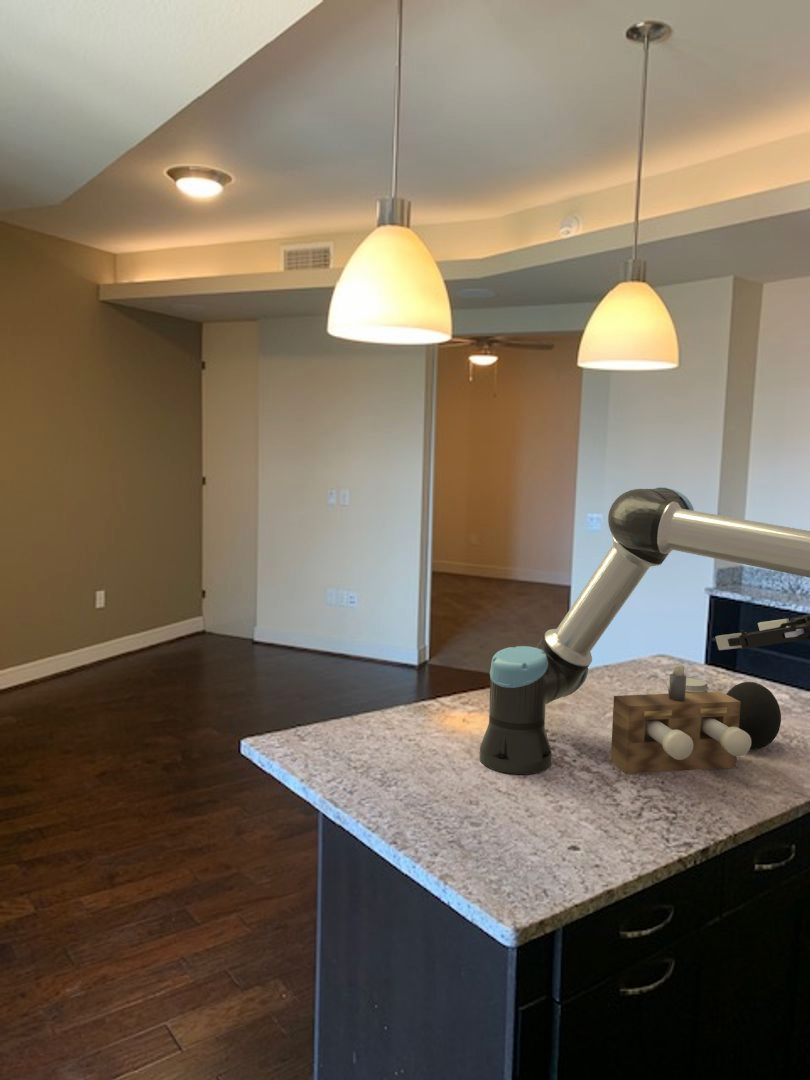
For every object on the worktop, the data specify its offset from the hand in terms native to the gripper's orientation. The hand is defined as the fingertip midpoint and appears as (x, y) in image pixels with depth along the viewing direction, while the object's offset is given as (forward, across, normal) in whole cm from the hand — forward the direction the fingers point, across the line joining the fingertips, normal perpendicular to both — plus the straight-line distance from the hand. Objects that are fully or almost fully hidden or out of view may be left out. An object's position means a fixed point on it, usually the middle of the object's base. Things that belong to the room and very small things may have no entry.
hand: (739, 636), depth 155 cm
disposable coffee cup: (+32, +13, -22) cm, 41 cm away
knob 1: (+14, -15, -18) cm, 27 cm away
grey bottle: (+14, -6, -11) cm, 19 cm away
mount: (+19, -8, -24) cm, 31 cm away
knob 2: (+10, -3, -21) cm, 23 cm away
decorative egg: (+18, +15, -27) cm, 36 cm away
